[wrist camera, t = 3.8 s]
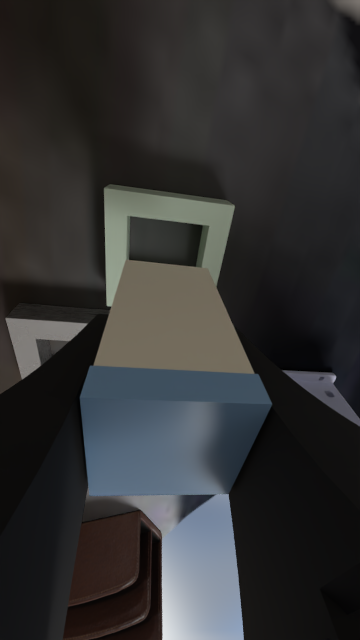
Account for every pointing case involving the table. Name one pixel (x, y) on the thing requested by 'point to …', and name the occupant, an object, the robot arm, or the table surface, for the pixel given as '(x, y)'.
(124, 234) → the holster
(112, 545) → the letter holder
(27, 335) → the panel
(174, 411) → the plug
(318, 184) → the table surface
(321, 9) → the table surface
